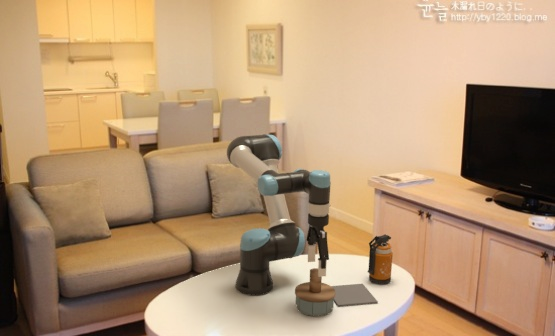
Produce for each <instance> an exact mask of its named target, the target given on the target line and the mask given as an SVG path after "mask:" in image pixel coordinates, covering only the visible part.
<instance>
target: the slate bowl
mask: <svg viewBox="0 0 555 336" xmlns="http://www.w3.org/2000/svg"><path fill="white" fill-rule="evenodd" d="M334 304H335V302H334V298H333V299H331V300H329V301H326V302H319V303H315V302H308V301H304V300H302V299H300V298H298V297H297V296H296V295H295V305H296V309H297V311H298V310H299V311H298V312H299V313H301V314H302V313H303V314H302V315H305V316H308V315H310V317H323V316H327V315H329V314H330V313H331V312H332V311H333V309H334Z"/></svg>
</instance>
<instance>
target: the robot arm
mask: <svg viewBox="0 0 555 336" xmlns="http://www.w3.org/2000/svg"><path fill="white" fill-rule="evenodd" d="M282 151H283V148H282V145H281V141H280V140H279V138H278V137H276V136H275V135H273V134H258V135H257V134H256V135H240V136H238V137H237V136H236V138H234V139H232V140H231V142H230V143H229V144H228V145H227V149H226V157H227V160H228V161H229V163H230V164H231V165H232V166H234V167H235V168H239V169H241V170H242V171H243V172H245V174H246V175H248V176H249V177H250V178H251V179H253V181H255V182H256V183H257V184H256V185H257V189H258V191H259V194H260V195H261V196H263V199H264V203H265V208H266V212H267V215H268V221H269V226H268V228H267V229H266V228H259V227H257V228H252V229H248V230H247V231H244V232H243V234H242V235H241V236H240V243H239V248H240V249H239V254H240V257H239V258H240V260H239V262H240V264H239V265H240V267H239V271H238V274H237V278H236V281H235V289H236V290H237V291H238V292H239V293H240V294H244V295H247V296H262V295H267V294H268V293H270V292H272V291H273V289H274V280H273V276H272V274H271V271H270V263H271V262H273V261H275V262H276V261H280V260H281V261H282V260H286V259H294V258H296V257H299V256H301V254H302V253H303V252H304V249H305V245H306V242H307V263H313V262H314V263H315V262H316V247H317V250H318V259H317V261H318V265H317V266H318V267H317V268H318V277H327V261H330V256H329V247H328V232H327V231H326V230H325V229H324V227H326V226H328V225H329V223H330V220H329V219H330V215H329V213H330V208H331V204H330V200H331V199H330V198H331V197H330V196H331V185H332V184H331V174H330V172H329V171H327V170H321V169H317V170H316V169H315V170H311V171H309V170H307V169H304V168H303V169H302V168H298V169H296V170H293V172H285V173H280V172H279V170H278V166H279V164H280V160H281V158H282V156H283V152H282ZM302 192H303V193H306V194H308V202H307V205H308V206H307V213H308V214H307V223H308V224H309V226H308V231H307V234H306V239H305V234H304V231H303V229H302V228H300V227H298V226H297V225H296V222H295V221H293V220H292V219H291V216H290V212H289V209H288V204H287V200H286V196H285V194H294V193H302ZM305 240H306V241H305Z"/></svg>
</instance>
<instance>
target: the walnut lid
mask: <svg viewBox="0 0 555 336" xmlns="http://www.w3.org/2000/svg"><path fill="white" fill-rule="evenodd" d="M322 277H323V276H322ZM322 277H318V267H317V268H315V267H314V268H310V269H309V281H307V282H303V283H300V284H298V285H296V286H295V289H294V294H295V297H296V296H297V297H298V298H300V299H302V300H304V301H308V302H315V303H319V302H326V301H329V300H331V299H333V298H334V297H335V289H334V288H333V287H331V286H332V285H330V284H327V283H326V282H325V283H324V282H322V279H323V278H322Z"/></svg>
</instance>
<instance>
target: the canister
mask: <svg viewBox="0 0 555 336" xmlns="http://www.w3.org/2000/svg"><path fill="white" fill-rule="evenodd" d="M391 239H392V237H391V236H390V235H388V234H383V235H378V236H377V235H375V236H374V237H373V238H372V239H371V241H370V242H368V245H369V246H368V247H369V257H368V258H369V259H368V269H367V273H368V279H369V281H371V282H374V283H376V284H382V285H383V284H388V283H389V282H391V280H392V279H391V278H392V268H393V267H392V266H393V255H394V254H393V251H392V250H393V249H392V245H391V244H390V243H389V240H391Z"/></svg>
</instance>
